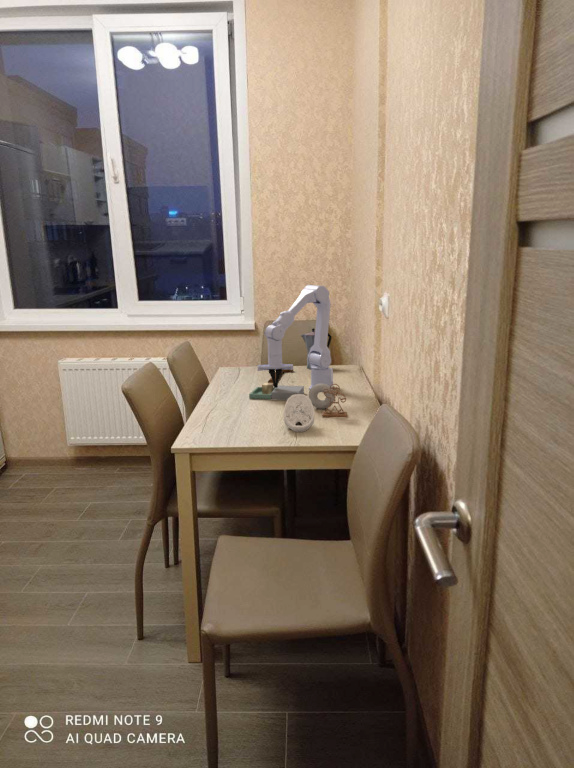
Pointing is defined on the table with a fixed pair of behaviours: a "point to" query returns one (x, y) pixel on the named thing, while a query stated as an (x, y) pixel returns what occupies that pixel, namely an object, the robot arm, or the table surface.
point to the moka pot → (312, 342)
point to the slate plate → (286, 392)
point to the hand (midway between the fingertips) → (275, 387)
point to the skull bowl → (299, 412)
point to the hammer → (275, 376)
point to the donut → (314, 399)
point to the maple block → (267, 388)
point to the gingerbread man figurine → (334, 414)
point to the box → (259, 394)
